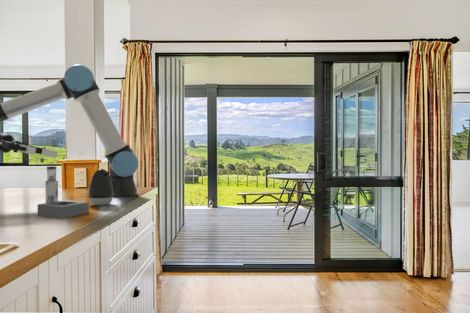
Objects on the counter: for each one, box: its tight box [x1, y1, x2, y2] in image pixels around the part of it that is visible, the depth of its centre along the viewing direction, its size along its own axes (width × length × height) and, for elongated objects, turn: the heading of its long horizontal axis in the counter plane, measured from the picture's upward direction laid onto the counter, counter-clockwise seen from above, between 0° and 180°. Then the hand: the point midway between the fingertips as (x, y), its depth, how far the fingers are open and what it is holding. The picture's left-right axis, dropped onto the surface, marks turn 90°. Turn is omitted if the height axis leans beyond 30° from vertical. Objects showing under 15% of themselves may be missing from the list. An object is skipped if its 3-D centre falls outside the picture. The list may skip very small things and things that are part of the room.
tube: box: [44, 165, 59, 203], centre depth 147 cm, size 4×4×17 cm
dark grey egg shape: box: [87, 168, 114, 207], centre depth 157 cm, size 10×10×15 cm
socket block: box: [37, 199, 90, 219], centre depth 136 cm, size 12×12×4 cm
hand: (46, 153), depth 149 cm, fingers open, 13 cm apart
